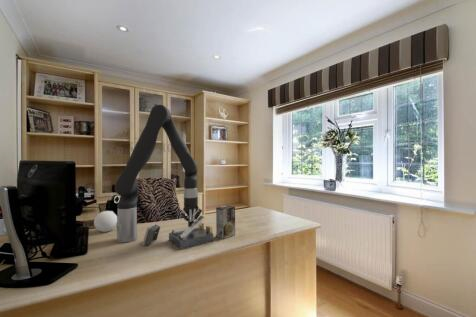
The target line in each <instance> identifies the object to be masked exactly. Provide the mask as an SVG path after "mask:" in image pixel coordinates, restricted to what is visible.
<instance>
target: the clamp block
mask: <svg viewBox="0 0 476 317" xmlns="http://www.w3.org/2000/svg"><path fill="white" fill-rule="evenodd" d="M197 226H199V227H201V229H198V230H193V231H191V232H190V233H189V234H188V235H187V236H186V237H182V239H181V238H180V235H181V234H182V233H179V234H178V232H176V233H175V234H174V233H173V231H175V230H176V229H173V230H172V229H171V232H169V233H168V241H169V242H170V243H171V244H172V245H174V246H175V247H176V248H178V249H179V250H181V251H182V250H185V249H188V248H193V247H195V246H200V245H203V244H207V243H212V242H214V233H213V227H212V226H210V225H206V226H205V223H204V222H203V221H201V222H200V223H199V224H198V225H197Z"/></svg>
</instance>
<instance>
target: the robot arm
mask: <svg viewBox="0 0 476 317" xmlns="http://www.w3.org/2000/svg"><path fill="white" fill-rule="evenodd" d="M161 128H162V129H163V130H164V132H165V134H166V136H167V138H168V141H169V143H170V145H171V148H172V149H173V151H174V152H175V154H176V156H177V157H178V159H179V160H178V161H179V163H180V164H181V166H182V169H183V170H184V180H183V185H184V186H183V210H182V211H180V212H179V215H180V216H181V217H182V218H183V219H184V221H186V222H187V226H188V227H187V228H189V227H190V226H191V225H192V224H193V223H194V222H195V221H196V220H197V219H198V218H199V217H200V216H201V213H202V212H203V210H202V209H201V208H199V205H198V204H199V196H198V194H199V192H198V163H197V162H196V160H195V159H194V158H193V156H192V154H191V153H190V150H189V147H188V145H187V144H186V142H185V140H184V139H183V137H182V136H181V134H180V132H179V131H178V128H177V126H176V125H175V122H174V120H173V116H172V112H171V111H170V109H169V108H168V107H167V106H165V105H163V104H156V105H154V106H153V107H152V109H151V110H150V112H149V115H148V118H147V121H146V124H145V126H144V128H143V130H142V132H141V134H140V136H139V138H138V140H137V142H136V143H135V145H134V147H133V150H132V152H131V153H130V156H129V159H128V161H127V162H126V165H125V168H124V169H123V171H121V174H120V176H119V177H118V178H117V180H116V181H115V185H114V191H115V193H116V194H117V195H118V196H120V198H119V201H118V202H117V224H116V240H117V242H118V244H121V243H130V242H133V241H136V240H137V239H138V222H137V221H138V220H137V219H138V216H137V215H138V213H137V212H138V209H137V207H138V205H137V204H138V200H139V183H138V180H137V178H138V175H139V173H140V172H141V171H142V169H143V168H144V167H145V166H146V165H147V163H148V162H149V161H150V159H151V157H152V155H153V153H154V151H155V148H156V145H157V139H158V135H159V132H160V131H161Z"/></svg>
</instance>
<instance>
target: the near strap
mask: <svg viewBox="0 0 476 317" xmlns="http://www.w3.org/2000/svg"><path fill="white" fill-rule="evenodd" d="M204 220H205V216H203V215H199V217H198V218H197V219H196V220H194V223H193V224H192V225H191V226H190V227H187V228H188V229H187V230H185V231H184V232H183V233H182V234H181V235H180V238H181V239H182V237H186V236H187V235H188V234H189V233H190V232H191V231H192V230H193V229H194V228H195V227H196V226H198V224H199V223H200V222H203V221H204Z"/></svg>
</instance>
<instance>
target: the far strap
mask: <svg viewBox="0 0 476 317" xmlns="http://www.w3.org/2000/svg"><path fill="white" fill-rule="evenodd" d="M188 228H189V227H185V228H181V229H177V230H176V229H174V230H175V231H173V233H174V234H175V233H176V232H178V234H179V233H183V232H184V231H185V230H187V229H188ZM198 229H201V227H199V226H198V225H197V226H196V227H195V228H194V229H193V230H198ZM193 230H192V231H193Z"/></svg>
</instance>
